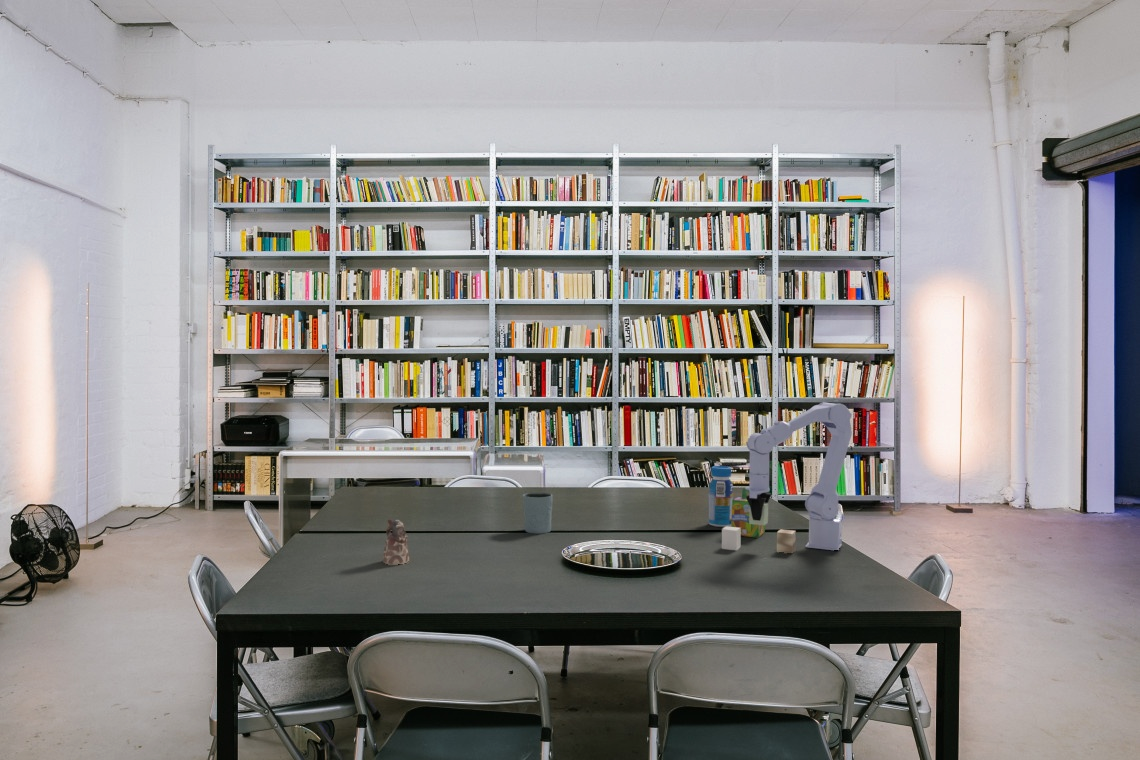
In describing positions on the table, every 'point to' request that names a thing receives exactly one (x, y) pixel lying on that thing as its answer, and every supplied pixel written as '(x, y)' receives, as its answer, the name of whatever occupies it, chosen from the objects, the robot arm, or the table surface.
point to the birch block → (786, 541)
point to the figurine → (396, 544)
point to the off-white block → (731, 538)
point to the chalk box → (744, 517)
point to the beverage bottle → (720, 497)
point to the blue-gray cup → (537, 512)
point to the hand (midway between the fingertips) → (758, 518)
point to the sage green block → (763, 518)
